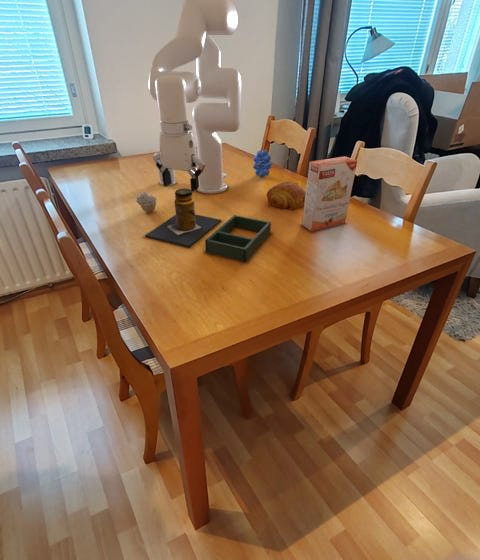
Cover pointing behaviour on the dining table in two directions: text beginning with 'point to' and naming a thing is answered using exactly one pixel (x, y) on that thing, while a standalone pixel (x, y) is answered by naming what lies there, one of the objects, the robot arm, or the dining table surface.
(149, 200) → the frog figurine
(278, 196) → the croissant
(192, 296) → the dining table surface
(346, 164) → the cracker box
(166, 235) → the mat
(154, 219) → the dining table surface
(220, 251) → the caddy
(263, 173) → the grapes
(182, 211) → the condiment
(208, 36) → the robot arm
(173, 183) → the cup
